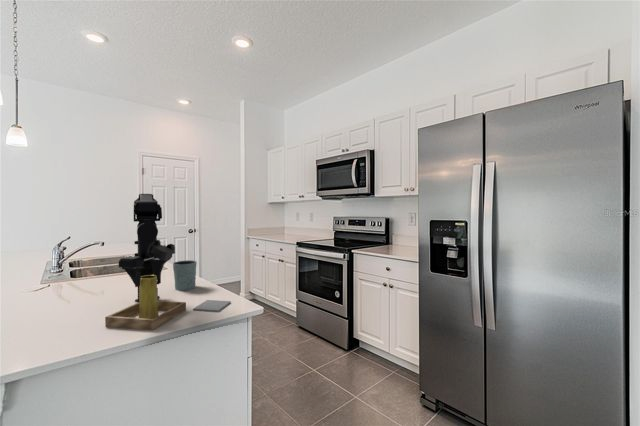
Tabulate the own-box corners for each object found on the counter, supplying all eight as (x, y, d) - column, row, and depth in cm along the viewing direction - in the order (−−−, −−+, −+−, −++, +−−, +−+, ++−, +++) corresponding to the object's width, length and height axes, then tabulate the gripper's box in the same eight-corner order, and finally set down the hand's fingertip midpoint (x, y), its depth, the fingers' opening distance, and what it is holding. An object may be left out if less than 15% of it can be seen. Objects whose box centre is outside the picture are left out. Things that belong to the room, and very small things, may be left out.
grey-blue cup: (181, 292, 131) (181, 265, 131) (168, 288, 136) (168, 262, 136) (201, 286, 140) (201, 261, 139) (188, 283, 145) (188, 259, 144)
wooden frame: (105, 326, 95) (105, 317, 95) (144, 307, 112) (144, 299, 112) (153, 329, 92) (153, 320, 92) (185, 310, 109) (185, 302, 109)
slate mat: (193, 310, 109) (193, 308, 109) (207, 301, 119) (207, 299, 119) (218, 311, 108) (218, 310, 108) (230, 302, 118) (230, 301, 118)
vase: (149, 322, 98) (148, 279, 98) (133, 320, 100) (133, 278, 99) (162, 315, 104) (162, 275, 104) (147, 313, 106) (147, 274, 105)
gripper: (149, 241, 91) (149, 292, 91) (185, 235, 109) (185, 277, 110) (116, 240, 92) (117, 290, 93) (157, 234, 111) (158, 275, 111)
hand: (147, 282), depth 102 cm, fingers open, 9 cm apart
